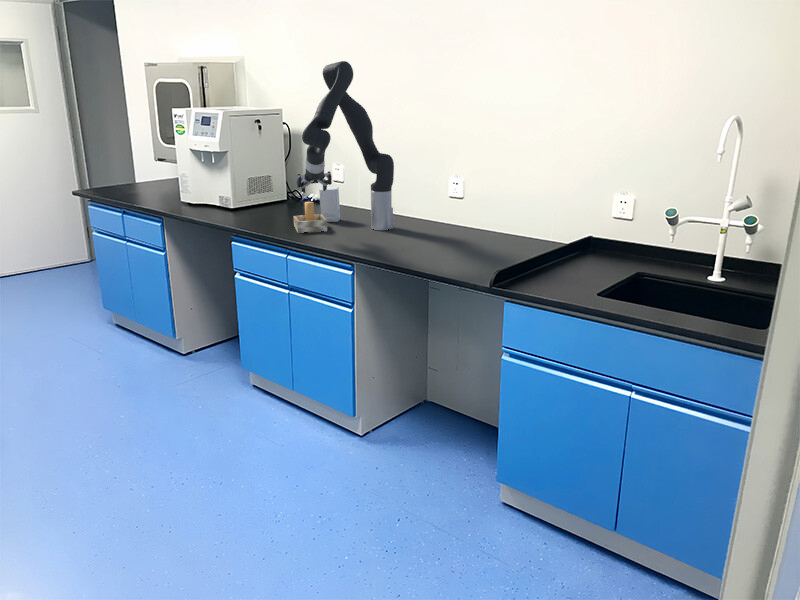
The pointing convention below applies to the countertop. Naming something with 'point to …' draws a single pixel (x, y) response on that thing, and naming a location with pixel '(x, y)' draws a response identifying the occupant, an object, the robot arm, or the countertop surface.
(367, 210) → the countertop surface
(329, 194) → the skincare box
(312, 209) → the peg
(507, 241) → the countertop surface
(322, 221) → the box
